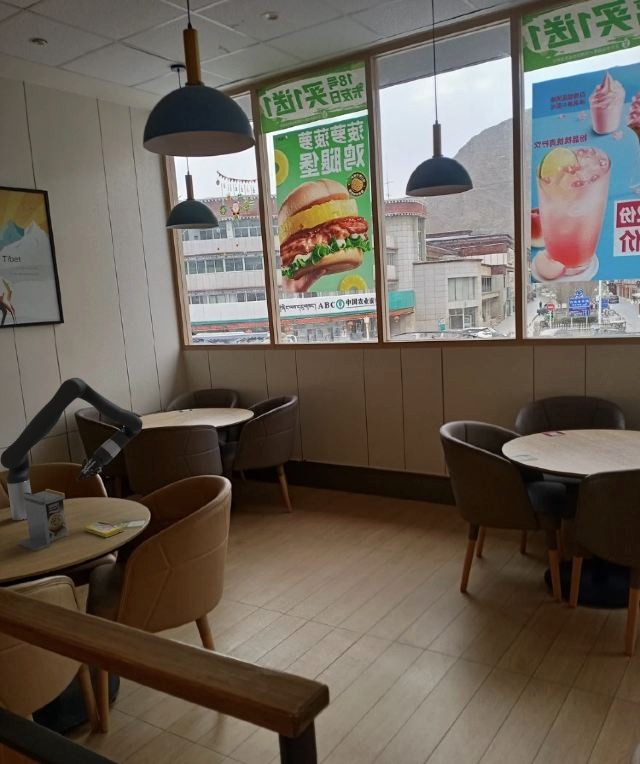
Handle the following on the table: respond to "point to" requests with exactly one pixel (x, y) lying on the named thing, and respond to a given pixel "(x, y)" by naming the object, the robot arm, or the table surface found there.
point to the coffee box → (56, 520)
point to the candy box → (104, 529)
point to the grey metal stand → (39, 518)
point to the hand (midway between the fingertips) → (77, 480)
